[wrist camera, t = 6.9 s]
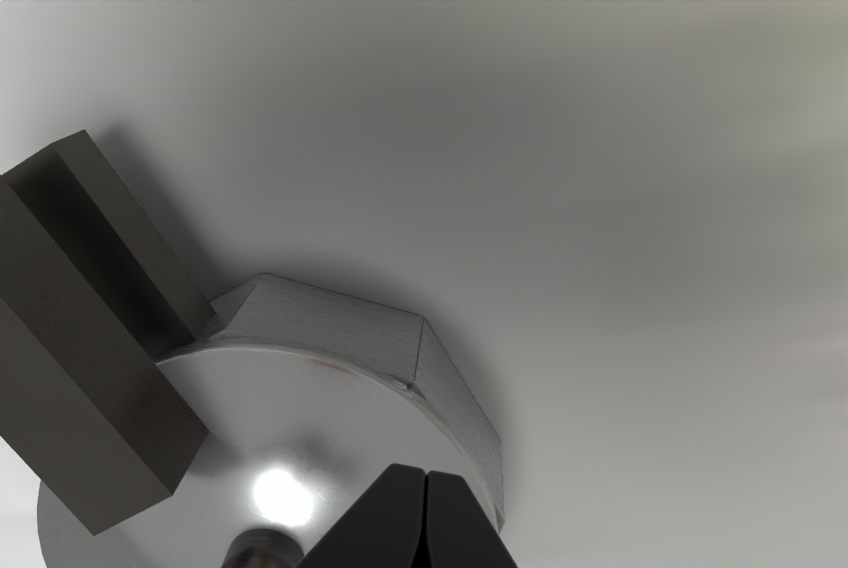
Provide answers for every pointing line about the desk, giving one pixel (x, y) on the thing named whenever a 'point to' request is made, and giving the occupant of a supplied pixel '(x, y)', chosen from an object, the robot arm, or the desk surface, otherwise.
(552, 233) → the desk surface
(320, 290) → the pot
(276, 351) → the lid
